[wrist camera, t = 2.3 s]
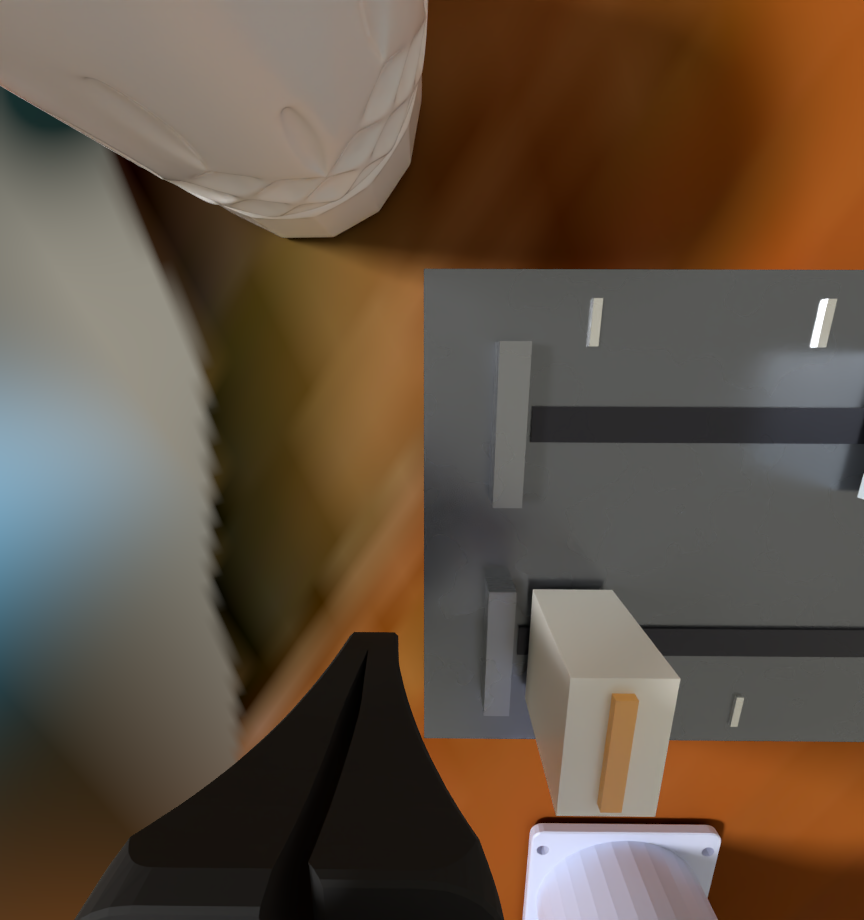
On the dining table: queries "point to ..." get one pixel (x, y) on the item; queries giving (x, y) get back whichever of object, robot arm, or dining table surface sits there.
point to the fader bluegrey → (861, 489)
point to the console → (649, 487)
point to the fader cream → (598, 704)
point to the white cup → (235, 96)
